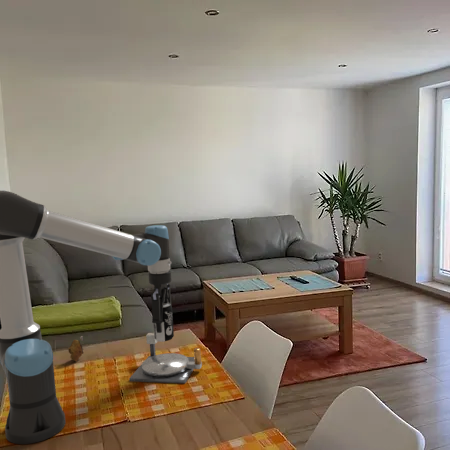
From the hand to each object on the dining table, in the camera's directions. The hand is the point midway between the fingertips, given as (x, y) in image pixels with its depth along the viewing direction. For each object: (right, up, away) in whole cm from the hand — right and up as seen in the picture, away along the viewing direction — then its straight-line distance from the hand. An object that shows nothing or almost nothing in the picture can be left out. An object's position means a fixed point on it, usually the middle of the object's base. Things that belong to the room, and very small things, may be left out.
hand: (164, 337), depth 162 cm
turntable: (+3, -10, +1) cm, 11 cm away
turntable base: (0, -12, +1) cm, 12 cm away
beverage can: (0, -1, 0) cm, 1 cm away
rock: (-34, -12, +15) cm, 39 cm away
